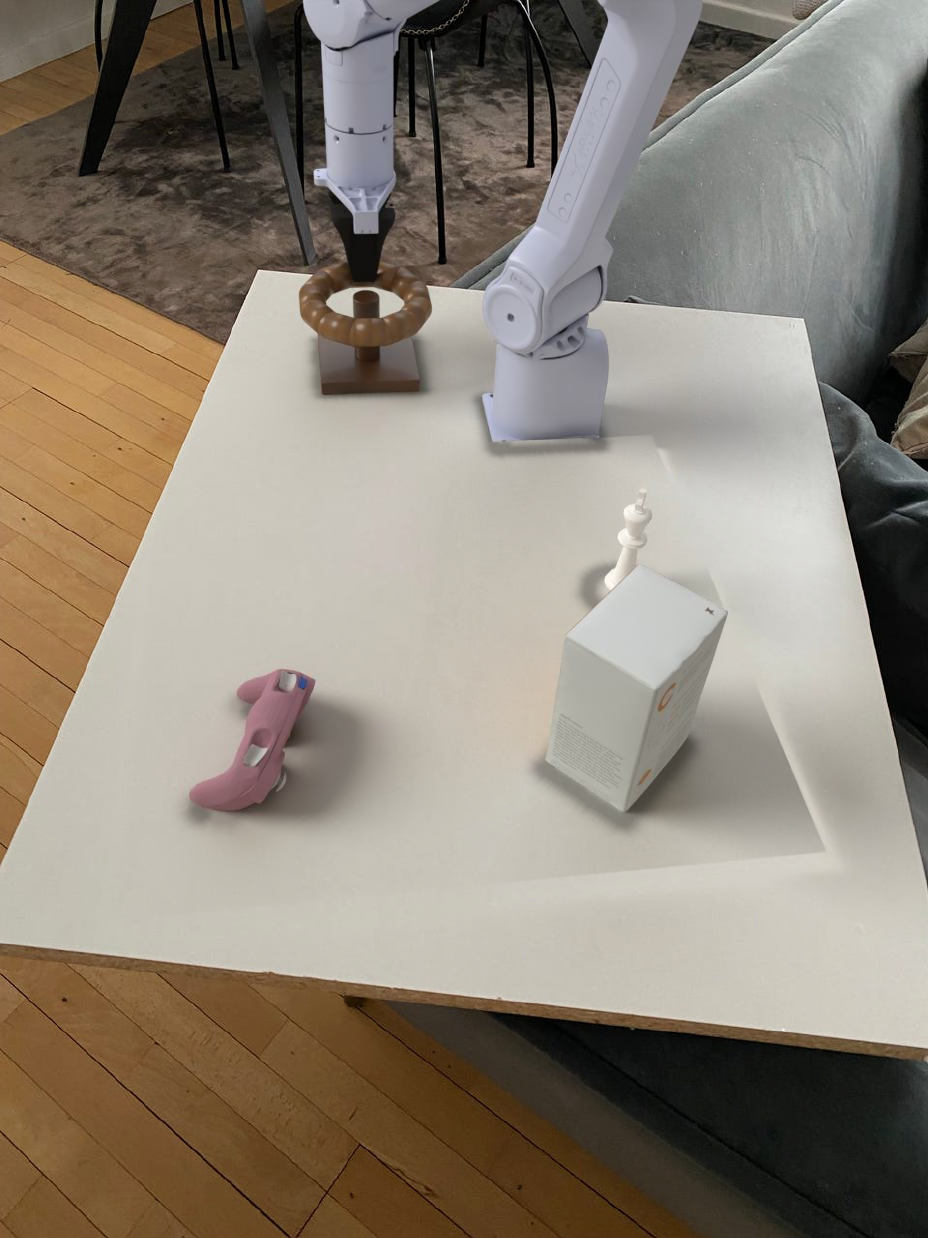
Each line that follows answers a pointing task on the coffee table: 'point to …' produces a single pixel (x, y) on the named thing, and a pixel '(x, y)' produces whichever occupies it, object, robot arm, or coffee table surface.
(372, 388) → the peg stand
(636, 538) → the chess piece
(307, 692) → the video game controller
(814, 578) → the coffee table surface
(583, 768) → the small box
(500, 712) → the coffee table surface
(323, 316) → the segmented brown ring
